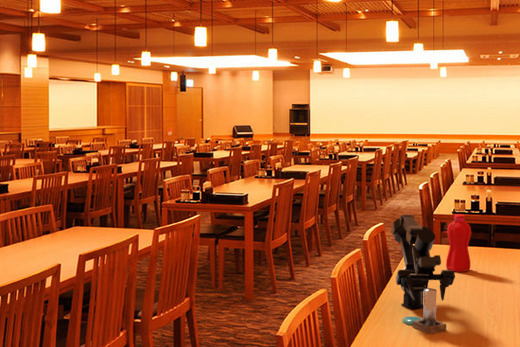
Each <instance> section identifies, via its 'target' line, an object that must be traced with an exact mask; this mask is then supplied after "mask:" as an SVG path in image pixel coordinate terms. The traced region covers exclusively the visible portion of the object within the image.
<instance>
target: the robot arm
mask: <svg viewBox="0 0 520 347" xmlns="http://www.w3.org/2000/svg"><path fill="white" fill-rule="evenodd" d="M391 235H392V236H393V239H394V241H395V242H397V243H398V244H399V245H400V249H401V254H402V257H403V261H404V268H405V267H406V268H405V270H404V269H398V270H397V272H396V276H395V283H396V285H397V286H400V288H401V290H402V291H403V298H402V300H403V302H402V303H401V304H400V306H402V307H405V308H408V309H410V310H418V309H423V303H424V289H425V288H429V281H439V284H440V285H439V291H440V298H441V299H440V300H441V301H444V300H445V295H446V294H445V293H446V290H447V288H449V286H452V285H453V283H454V280H455V279H456V274H455V271H452V270H449V269H442V270H441V271H440V273H434V272H436V271H435V270H436V269H435V268H437V267H436V266H440V265H442V258H441V255H440V254H439V255H438V254H434V255H433V256H431V252H430V251H431V250H432V248H433V245H434V242H435V240H436V234H435V233H434V231H432V230H431V229H429V228H428V226H422V225H419V223H418V222H417V220H416V219H415V215H412V214H402V215H399V218H397V219H396V220H394V221H393V222H392V225H391Z"/></svg>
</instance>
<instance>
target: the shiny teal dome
mask: <svg viewBox="0 0 520 347" xmlns="http://www.w3.org/2000/svg"><path fill="white" fill-rule="evenodd" d="M422 319H423V318H422V317H419V316H405V317H403V318H402V323H403V324H405V325H408V326H413V321H417V320H422Z"/></svg>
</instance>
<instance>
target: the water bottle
mask: <svg viewBox="0 0 520 347" xmlns="http://www.w3.org/2000/svg"><path fill="white" fill-rule="evenodd" d="M453 217H454V219H453V221H451V222H450V223H449V224H448V225H447V229H446V231H447V232H446V233H447V245H449V249H448V252H447V256H446V261H445V267H446V270H452V271H453V272H454V273H455V272H456V273H461V272H463V273H464V272H469V271H470V270H471V258H470V253H469V243H470V240H471V236H472V229H471V225H470V224H469V223H467V222H466V220H465V215H464V214H459V213H458V214H455V215H454V216H453Z"/></svg>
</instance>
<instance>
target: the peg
mask: <svg viewBox="0 0 520 347" xmlns="http://www.w3.org/2000/svg"><path fill="white" fill-rule="evenodd" d="M437 292H438V291H437V289H436V288H431V287H428V288H425V289H424V291H423V308H422V309H423V311H422V312H423V314H422V317H423V318H422V319H423V324H424V325H426V326H429V327H430V326H434V325H436V320H437Z"/></svg>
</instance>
